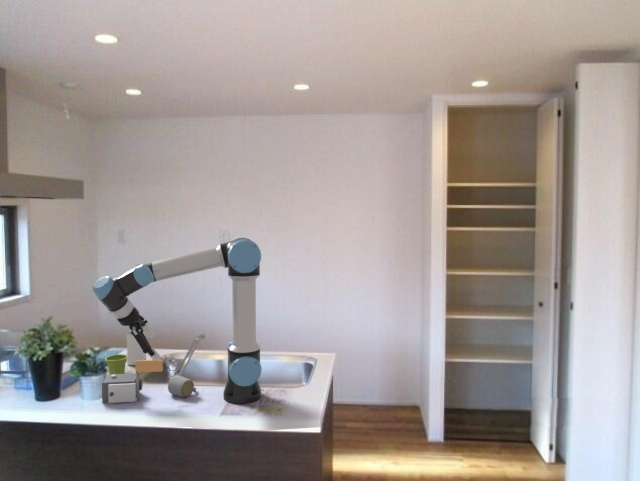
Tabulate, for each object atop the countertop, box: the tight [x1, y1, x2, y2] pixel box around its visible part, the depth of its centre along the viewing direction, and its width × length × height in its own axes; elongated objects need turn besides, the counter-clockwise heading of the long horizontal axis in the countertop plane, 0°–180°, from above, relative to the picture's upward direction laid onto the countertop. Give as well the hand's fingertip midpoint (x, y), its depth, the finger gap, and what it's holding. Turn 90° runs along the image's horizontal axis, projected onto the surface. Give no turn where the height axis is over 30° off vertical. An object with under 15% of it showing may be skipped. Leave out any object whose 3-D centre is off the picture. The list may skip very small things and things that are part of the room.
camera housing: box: [101, 372, 144, 404], centre depth 202 cm, size 14×10×9 cm
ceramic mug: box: [167, 374, 197, 398], centre depth 206 cm, size 11×8×8 cm
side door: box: [108, 359, 164, 404], centre depth 196 cm, size 20×2×16 cm, turn 99°
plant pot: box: [105, 354, 128, 375], centre depth 227 cm, size 9×9×9 cm
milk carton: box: [126, 329, 147, 366], centre depth 246 cm, size 7×7×19 cm
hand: (154, 347), depth 196 cm, fingers open, 13 cm apart
